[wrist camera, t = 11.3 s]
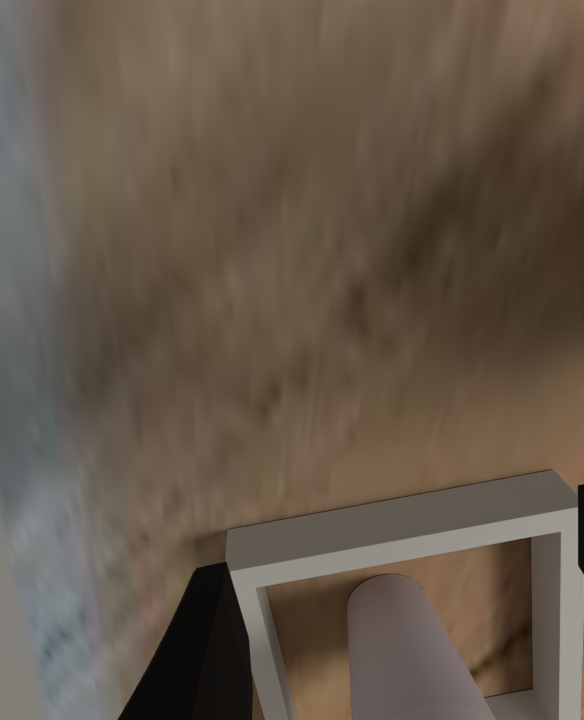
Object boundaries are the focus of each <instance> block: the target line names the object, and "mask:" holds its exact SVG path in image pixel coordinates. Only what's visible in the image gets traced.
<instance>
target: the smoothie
mask: <svg viewBox="0 0 584 720" xmlns="http://www.w3.org/2000/svg"><path fill="white" fill-rule="evenodd" d="M347 628H348V649H349V669H350V689H351V710H352V720H496V718H495V717H494V715H493V713H492V711H491V710H490V708H489V706H488V704H487V703H486V701H485V699H484V697H483V696H482V694H481V692H480V690H479V688H478V687H477V685H476V683H475V681H474V680H473V678H472V676H471V674H470V673H469V671H468V669H467V667H466V666H465V664H464V662H463V660H462V658H461V657H460V655H459V653H458V651H457V650H456V648H455V646H454V644H453V643H452V641H451V639H450V637H449V635H448V634H447V632H446V630H445V628H444V627H443V625H442V623H441V621H440V620H439V618H438V616H437V614H436V613H435V611H434V609H433V607H432V605H431V604H430V602H429V600H428V598H427V597H426V595H425V593H424V591H423V590H422V588H421V587H420V585H419V584H418V583H416V582H415V581H414V580H412V579H410V578H408V577H405V576H402V575H395V574H387V575H380V576H376V577H373V578H371V579H369V580H367V581H365V582H363V583H362V584H360V585H359V586H358V587H357V588H356V589H355V590H354V591H353V593H352V594H351V596H350V597H349V600H348V603H347Z"/></svg>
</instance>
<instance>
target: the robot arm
mask: <svg viewBox="0 0 584 720" xmlns="http://www.w3.org/2000/svg"><path fill="white" fill-rule="evenodd" d="M578 566H579V568H580V570H581V571H582V573H583V574H584V484H583V485H578ZM252 700H253V688H252V672H251V658H250V645H249V636H248V633H247V629H246V626H245V622H244V619H243V616H242V612H241V609H240V605H239V602H238V599H237V595H236V592H235V588H234V585H233V582H232V578H231V575H230V572H229V568H228V565H227V562H223V563H218V564H214V565H209V566H204V567H200V568H196V570H195V571H194V573H193V574H192V576H191V579H190V581H189V583H188V586H187V588H186V590H185V592H184V595H183V597H182V599H181V601H180V603H179V606H178V608H177V610H176V612H175V614H174V616H173V618H172V620H171V623H170V625H169V627H168V629H167V631H166V633H165V635H164V637H163V639H162V641H161V643H160V644H159V646H158V648H157V650H156V652H155V654H154V656H153V658H152V660H151V662H150V664H149V666H148V668H147V669H146V671H145V673H144V675H143V677H142V678H141V680H140V682H139V684H138V685H137V687H136V689H135V691H134V692H133V694H132V696H131V698H130V699H129V701H128V703H127V704H126V706H125V708H124V710H123V711H122V713H121V715H120V716H119V718H118V720H252Z"/></svg>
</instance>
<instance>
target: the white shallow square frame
mask: <svg viewBox="0 0 584 720" xmlns="http://www.w3.org/2000/svg"><path fill="white" fill-rule="evenodd" d="M528 537H531V583H532V658H533V689H531V690H526V691H520V692H515V693H509V694H504V695H499V696H493V697H488V698H484V699H485V701H486V703H487V704H488V706H489V708H490V710H491V711H492V713H493V715H494V717H495V718H496V720H580V715H581V684H582V653H583V623H584V574H583V573H582V571H581V570H580V568H579V566H578V495H577V494H576V493H575V492H574V491H573V490H572V489H571V488H570V487H569V486H568V485H567V484H566V482H565V481H564V480H563V479H562V478H561V477H560V476H559V475H558V474H557V473H556V472H555V471H554V470H549V471H543V472H538V473H532V474H527V475H522V476H516V477H511V478H505V479H500V480H495V481H489V482H484V483H478V484H473V485H468V486H462V487H457V488H451V489H446V490H441V491H435V492H430V493H424V494H419V495H413V496H408V497H403V498H397V499H392V500H386V501H381V502H376V503H370V504H365V505H359V506H354V507H349V508H343V509H338V510H332V511H327V512H322V513H316V514H311V515H305V516H300V517H295V518H289V519H284V520H278V521H273V522H268V523H262V524H257V525H251V526H246V527H240V528H235V529H230V530H227V541H226V555H225V562H227V565H228V568H229V572H230V575H231V578H232V582H233V585H234V588H235V592H236V595H237V599H238V602H239V605H240V609H241V612H242V616H243V619H244V622H245V626H246V629H247V633H248V636H249V645H250V658H251V671H252V675H253V678H254V682H255V686H256V689H257V693H258V697H259V700H260V704H261V707H262V711H263V715H264V718H265V720H298V718H297V714H296V710H295V706H294V702H293V698H292V694H291V689H290V685H289V681H288V677H287V673H286V669H285V665H284V661H283V657H282V653H281V648H280V644H279V640H278V636H277V632H276V628H275V624H274V620H273V616H272V611H271V607H270V603H269V599H268V595H267V591H266V587H265V586H269V585H274V584H280V583H285V582H290V581H296V580H301V579H307V578H312V577H317V576H323V575H328V574H334V573H339V572H344V571H350V570H355V569H361V568H366V567H371V566H377V565H382V564H388V563H393V562H398V561H404V560H409V559H415V558H420V557H425V556H431V555H436V554H442V553H447V552H452V551H458V550H463V549H469V548H474V547H479V546H485V545H490V544H496V543H501V542H506V541H512V540H517V539H523V538H528Z"/></svg>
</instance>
